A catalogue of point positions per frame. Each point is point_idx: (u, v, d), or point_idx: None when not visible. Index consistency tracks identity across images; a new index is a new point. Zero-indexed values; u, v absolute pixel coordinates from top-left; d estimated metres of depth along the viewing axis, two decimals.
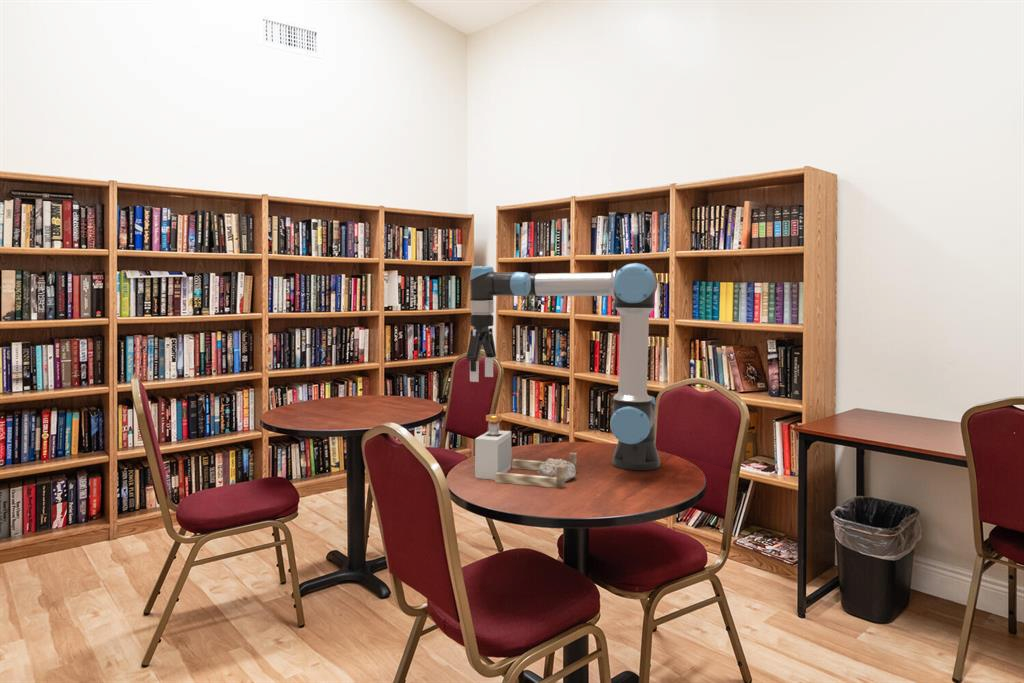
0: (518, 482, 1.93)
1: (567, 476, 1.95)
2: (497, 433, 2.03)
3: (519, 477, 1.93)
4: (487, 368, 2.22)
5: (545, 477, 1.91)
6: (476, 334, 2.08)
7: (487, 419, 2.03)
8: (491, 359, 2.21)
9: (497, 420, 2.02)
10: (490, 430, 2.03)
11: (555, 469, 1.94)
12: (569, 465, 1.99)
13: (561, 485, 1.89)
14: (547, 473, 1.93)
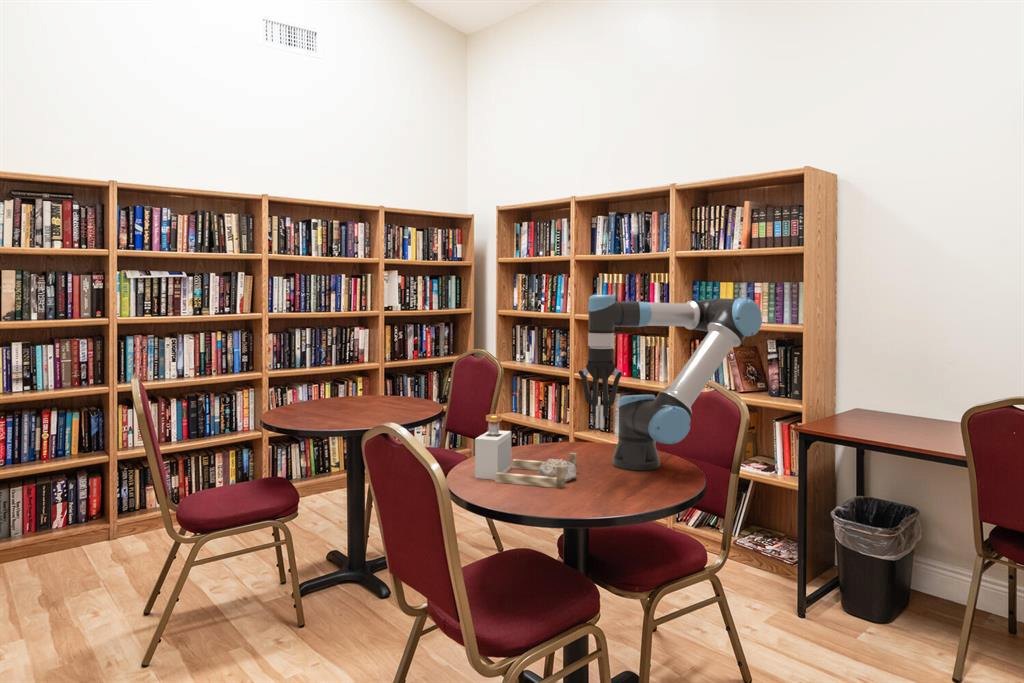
0: (518, 482, 1.93)
1: (567, 476, 1.95)
2: (497, 433, 2.03)
3: (519, 477, 1.93)
4: None
5: (545, 477, 1.91)
6: None
7: (487, 419, 2.03)
8: None
9: (497, 420, 2.02)
10: (490, 430, 2.03)
11: (555, 469, 1.94)
12: (569, 465, 1.98)
13: (561, 485, 1.89)
14: (547, 473, 1.93)
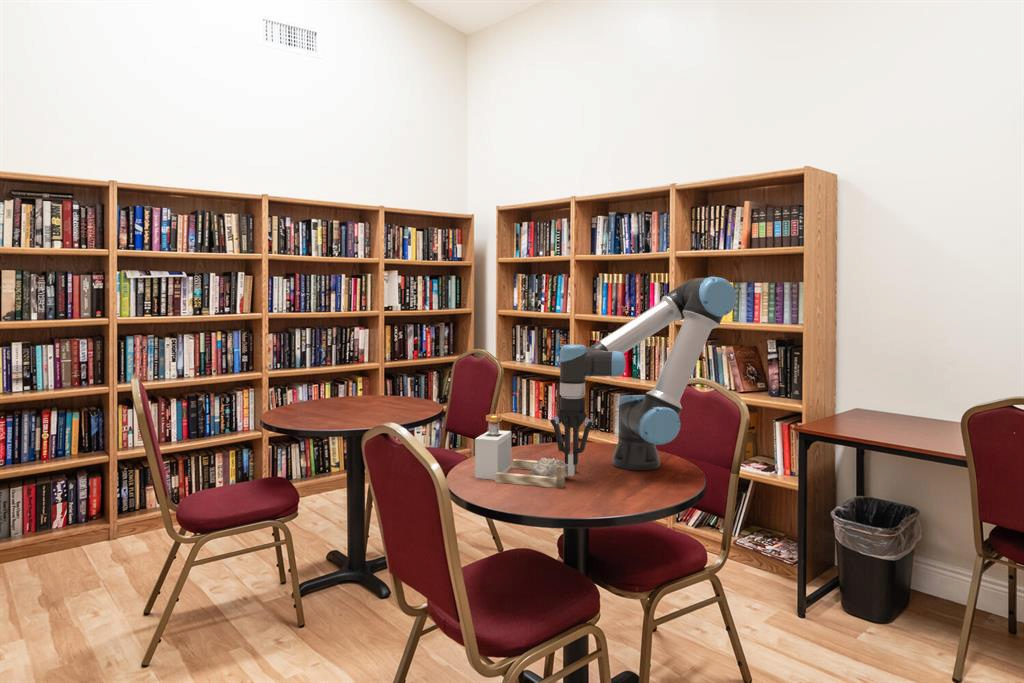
0: (518, 482, 1.93)
1: None
2: (497, 433, 2.03)
3: (519, 477, 1.93)
4: None
5: (545, 477, 1.91)
6: None
7: (487, 419, 2.03)
8: None
9: (497, 420, 2.02)
10: (490, 430, 2.03)
11: (549, 468, 1.94)
12: (562, 464, 1.99)
13: (561, 485, 1.89)
14: (541, 473, 1.93)
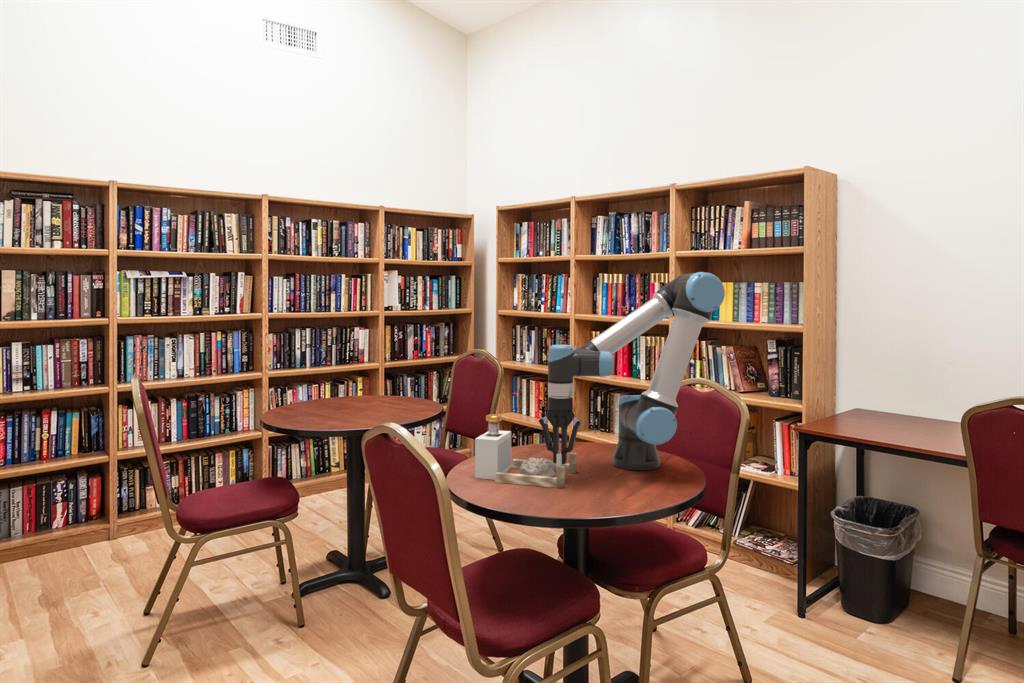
0: (518, 482, 1.93)
1: (550, 475, 1.97)
2: (497, 433, 2.03)
3: (519, 477, 1.93)
4: None
5: (545, 477, 1.91)
6: None
7: (487, 419, 2.03)
8: None
9: (497, 420, 2.02)
10: (490, 430, 2.03)
11: (538, 468, 1.95)
12: (551, 464, 2.00)
13: (561, 485, 1.89)
14: (531, 472, 1.94)
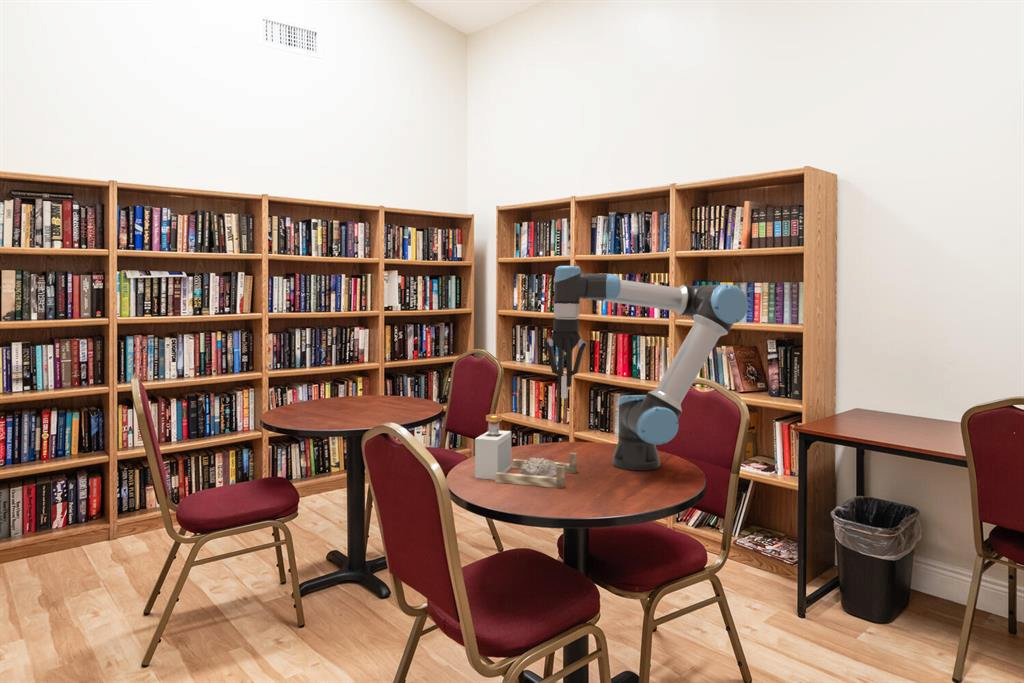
0: (518, 482, 1.93)
1: (551, 475, 1.97)
2: (497, 433, 2.03)
3: (519, 477, 1.93)
4: None
5: (545, 477, 1.91)
6: None
7: (487, 419, 2.03)
8: None
9: (497, 420, 2.02)
10: (490, 430, 2.03)
11: (539, 468, 1.95)
12: (552, 464, 2.00)
13: (561, 485, 1.89)
14: (531, 472, 1.94)
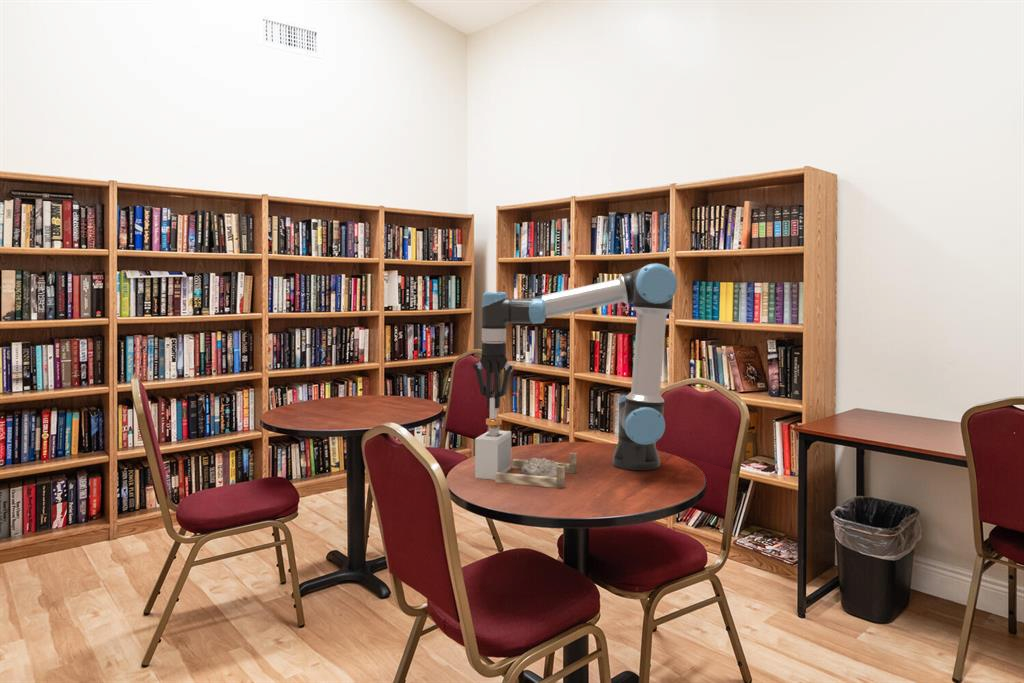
0: (518, 482, 1.93)
1: (551, 475, 1.97)
2: None
3: (519, 477, 1.93)
4: None
5: (545, 477, 1.91)
6: None
7: (487, 423, 2.03)
8: None
9: (497, 424, 2.02)
10: (490, 434, 2.03)
11: (540, 468, 1.95)
12: (553, 464, 2.00)
13: (561, 485, 1.89)
14: (532, 472, 1.94)
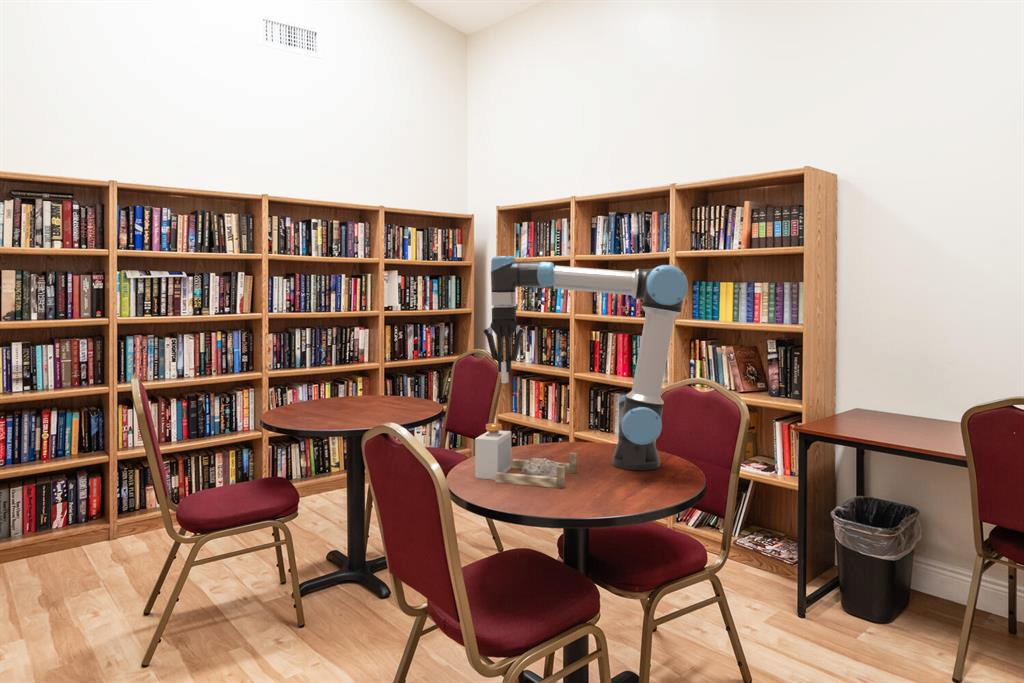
0: (518, 482, 1.93)
1: (552, 475, 1.96)
2: None
3: (519, 477, 1.93)
4: None
5: (545, 477, 1.91)
6: None
7: (487, 428, 2.03)
8: None
9: (497, 429, 2.02)
10: None
11: (540, 468, 1.95)
12: (553, 464, 2.00)
13: (561, 485, 1.89)
14: (532, 472, 1.94)
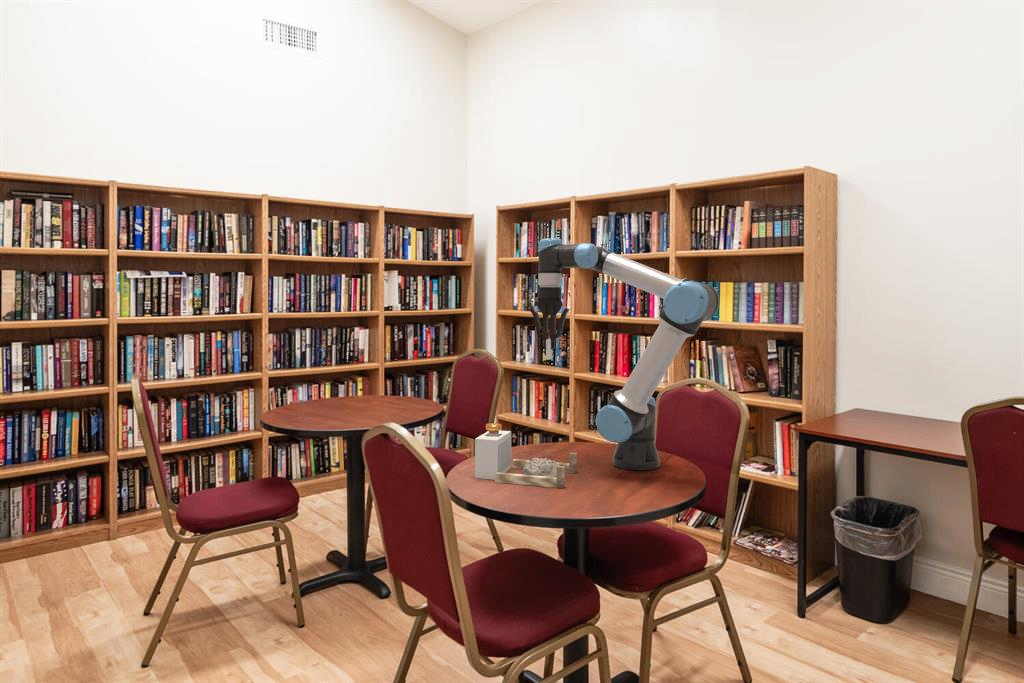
0: (518, 482, 1.93)
1: (552, 475, 1.96)
2: None
3: (519, 477, 1.93)
4: None
5: (545, 477, 1.91)
6: None
7: (487, 428, 2.03)
8: None
9: (497, 429, 2.02)
10: None
11: (541, 468, 1.95)
12: (554, 464, 2.00)
13: (561, 485, 1.89)
14: (533, 472, 1.94)
